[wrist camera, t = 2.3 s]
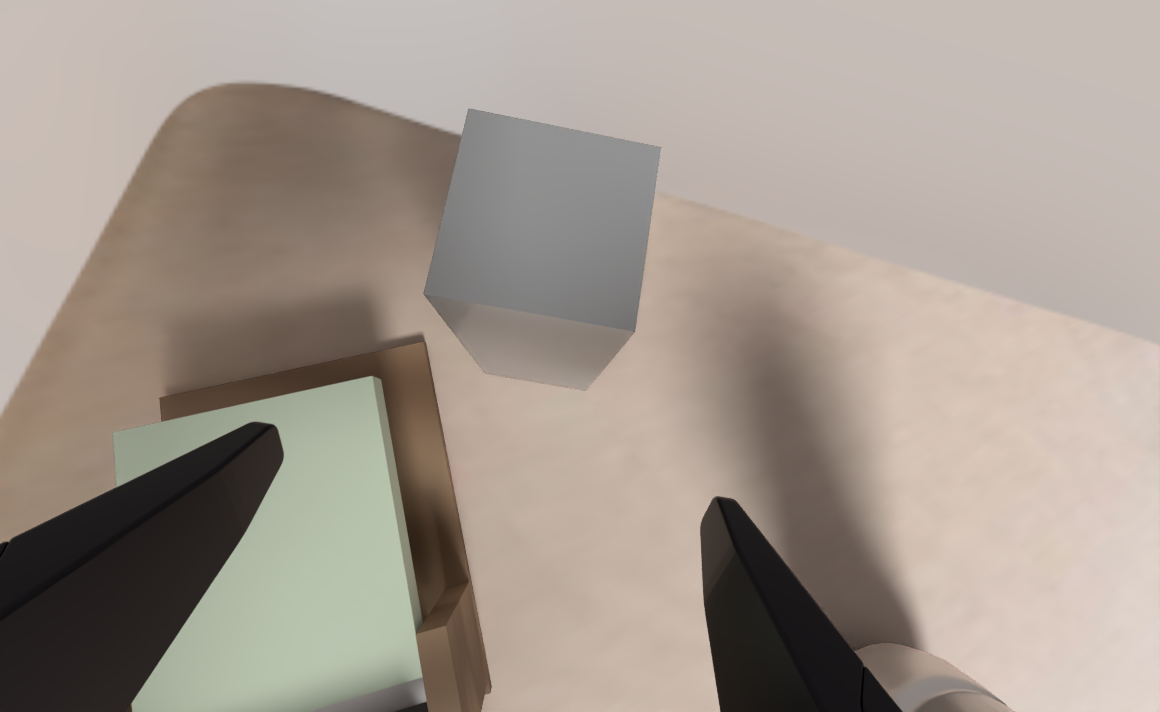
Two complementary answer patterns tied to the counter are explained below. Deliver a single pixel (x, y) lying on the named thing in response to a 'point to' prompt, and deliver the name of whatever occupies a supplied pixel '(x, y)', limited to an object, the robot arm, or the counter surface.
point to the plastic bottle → (926, 681)
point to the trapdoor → (298, 567)
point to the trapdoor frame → (427, 503)
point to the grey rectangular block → (543, 247)
